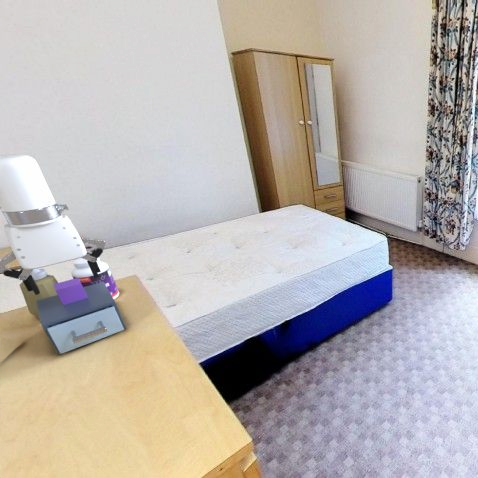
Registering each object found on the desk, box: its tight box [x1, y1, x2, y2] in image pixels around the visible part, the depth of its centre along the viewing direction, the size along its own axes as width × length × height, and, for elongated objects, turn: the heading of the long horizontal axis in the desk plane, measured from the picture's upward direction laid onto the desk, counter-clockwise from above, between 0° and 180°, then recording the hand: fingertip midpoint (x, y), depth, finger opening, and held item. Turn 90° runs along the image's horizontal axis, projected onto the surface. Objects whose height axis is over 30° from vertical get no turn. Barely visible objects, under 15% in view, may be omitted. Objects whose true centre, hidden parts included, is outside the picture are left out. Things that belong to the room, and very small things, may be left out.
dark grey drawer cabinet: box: [36, 282, 127, 356], centre depth 87 cm, size 15×13×9 cm
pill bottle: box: [71, 257, 120, 300], centre depth 98 cm, size 8×8×14 cm
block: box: [54, 278, 88, 305], centre depth 85 cm, size 5×5×5 cm
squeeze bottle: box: [19, 268, 59, 320], centre depth 90 cm, size 8×8×18 cm
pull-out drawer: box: [47, 306, 124, 355], centre depth 84 cm, size 19×12×7 cm, turn 51°
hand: (68, 283), depth 75 cm, fingers open, 9 cm apart
